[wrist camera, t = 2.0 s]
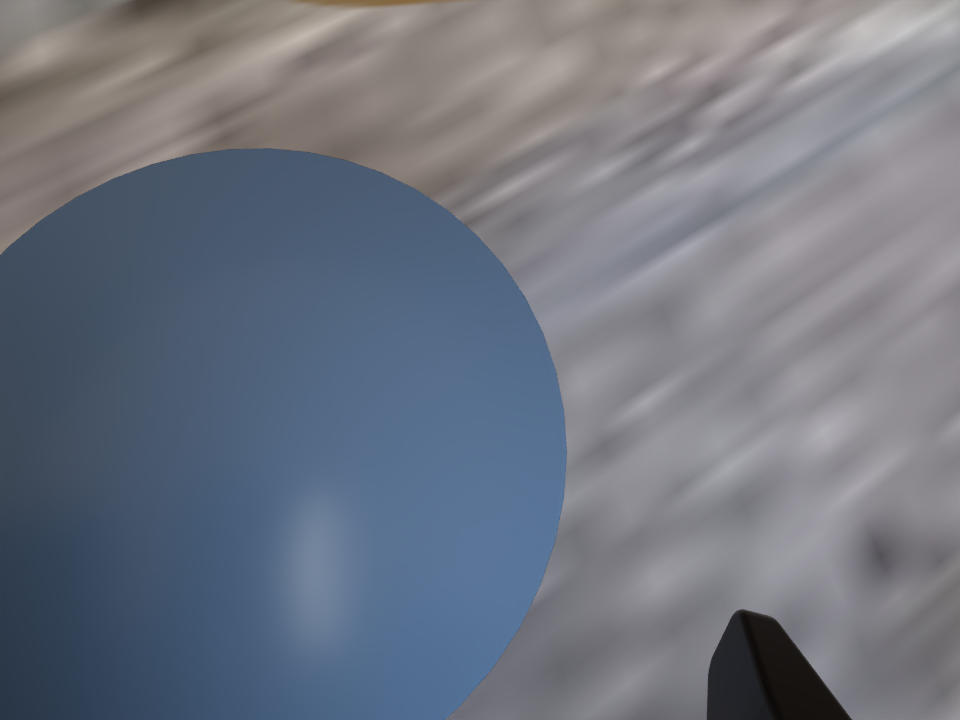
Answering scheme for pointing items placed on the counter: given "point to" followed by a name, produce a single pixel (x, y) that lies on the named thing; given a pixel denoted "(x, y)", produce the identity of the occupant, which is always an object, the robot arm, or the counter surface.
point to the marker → (266, 449)
